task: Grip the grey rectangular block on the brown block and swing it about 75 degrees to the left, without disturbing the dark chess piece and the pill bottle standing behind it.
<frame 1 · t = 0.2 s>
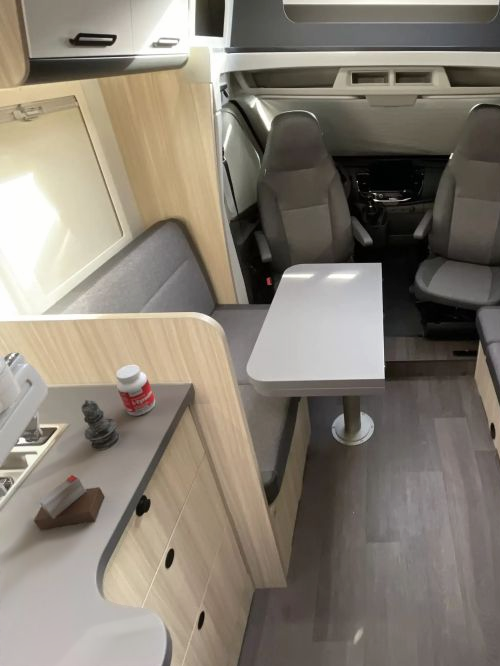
hand: (20, 463, 65), 22 cm above the table, tool pointing down, fingers open, 8 cm apart
grey rectangular block: (63, 495, 79), point 5 cm above the table, hinge at 52.5°
brown block: (73, 513, 81), on the table
dark chess piece: (106, 440, 96), on the table
pill bottle: (142, 407, 104), on the table
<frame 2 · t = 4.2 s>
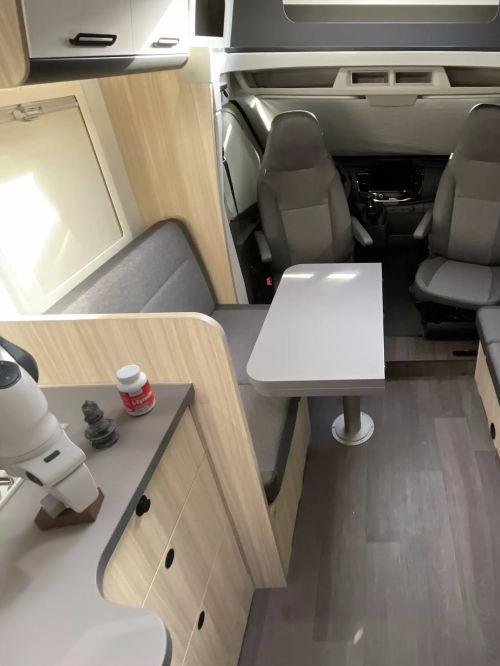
hand: (65, 499, 79), 4 cm above the table, tool pointing down, fingers closed on grey rectangular block, 2 cm apart
grey rectangular block: (63, 495, 79), point 5 cm above the table, hinge at 52.6°, touching gripper
everything else where it was.
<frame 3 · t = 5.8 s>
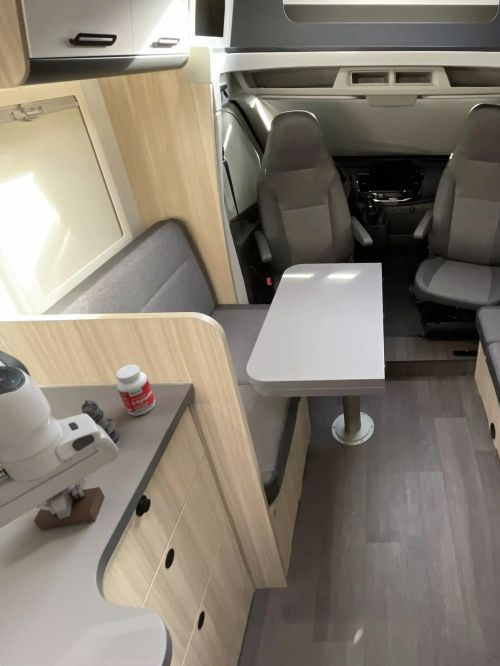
hand: (68, 502, 80), 3 cm above the table, tool pointing down, fingers closed on grey rectangular block, 2 cm apart
grey rectangular block: (63, 495, 79), point 5 cm above the table, hinge at 103.1°, touching gripper
everything else where it was.
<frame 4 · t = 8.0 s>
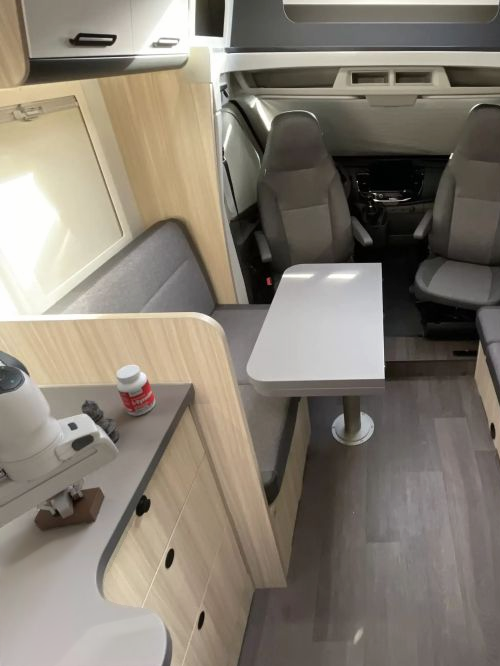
hand: (67, 503, 80), 3 cm above the table, tool pointing down, fingers closed on grey rectangular block, 2 cm apart
grey rectangular block: (63, 495, 79), point 5 cm above the table, hinge at 112.7°, touching gripper
everything else where it was.
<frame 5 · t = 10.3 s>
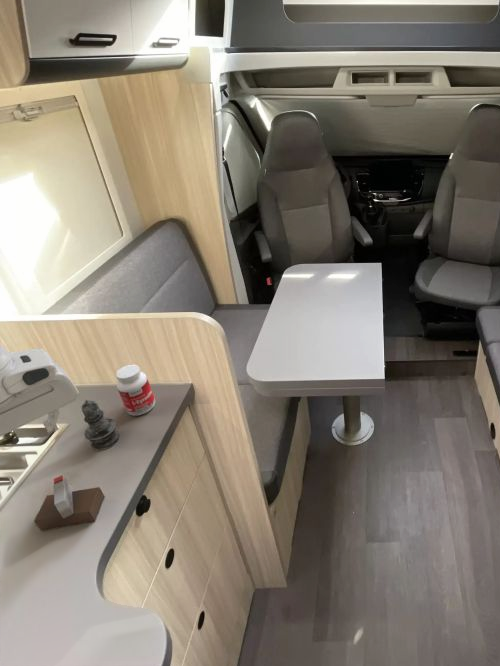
hand: (19, 446, 72), 18 cm above the table, tool pointing down, fingers open, 8 cm apart
grey rectangular block: (63, 495, 79), point 5 cm above the table, hinge at 113.2°
everything else where it was.
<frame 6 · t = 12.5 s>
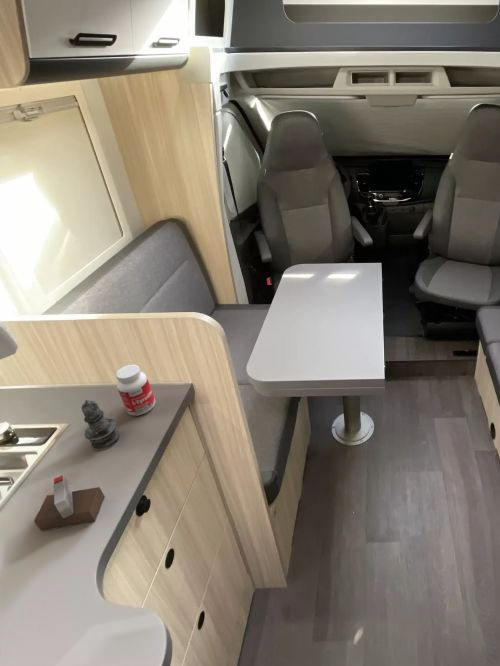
nothing on the table moved.
at the end: grey rectangular block at +113° (first picture: +52°); pill bottle moved 0.2 cm from its start; dark chess piece moved 0.2 cm from its start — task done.
